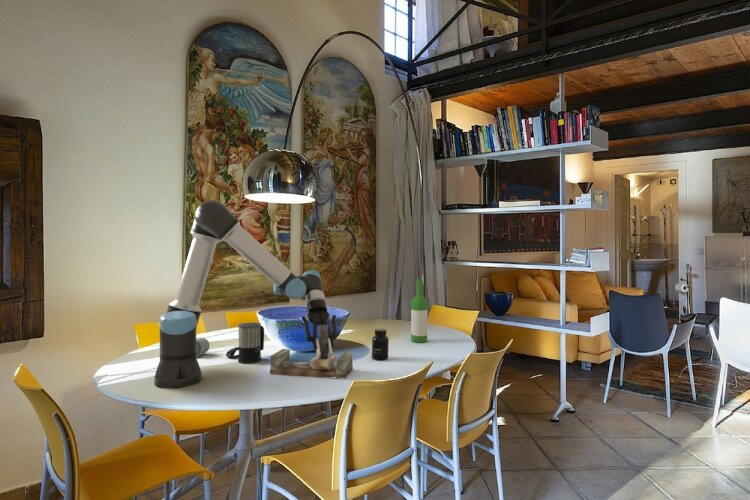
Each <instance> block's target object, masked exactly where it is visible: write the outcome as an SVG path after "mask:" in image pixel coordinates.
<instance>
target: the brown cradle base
mask: <svg viewBox="0 0 750 500" xmlns="http://www.w3.org/2000/svg"><path fill="white" fill-rule="evenodd" d="M335 362H336V363H334V364H332V365H331V370H323V369H312V366H310V362H304V361H303V362H301V361H291V349H289V348H288V349H287V348H282V349H280V350H278V351H277V352H275V353H273V354H271V355H270V369H269V374H270V375H279V374H281V376H294V375H298V376H297V377H308V376H319V377H318V378H323V377H336V378H335V379H338V378H344V379H346V377H347V376H348V375H349V374H350V373H351V372H352V371H353V370H354V367H353V352H343V353H342V354H341V355H340V356H339V357H338V358H336V361H335ZM282 374H283V375H282Z"/></svg>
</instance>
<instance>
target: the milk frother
mask: <svg viewBox="0 0 750 500" xmlns="http://www.w3.org/2000/svg"><path fill="white" fill-rule="evenodd" d="M237 326H238V346H236V347H234V348H231V349H229V350H227V352H226V353H225V357H226V358H229V359H237V358H238V360H237V361H238V363H240V364H254V363H255V364H256V363H259V362H261V361H262V355H261V353H262V352H261V351H264V348H265V347H264V346H265V345H264V344H265V328H264V326H263V325H262V323H260V322H243V323H239V324H237ZM237 351H238V354H236V352H237ZM235 354H236V355H235Z"/></svg>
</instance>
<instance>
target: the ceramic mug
mask: <svg viewBox="0 0 750 500" xmlns="http://www.w3.org/2000/svg"><path fill="white" fill-rule="evenodd" d="M209 349H210V342H209V340H208V339H207V338H205V337H196V357H197V358H198V357H200V356H203V355H204V354H206V353H207V352H208V351H209Z"/></svg>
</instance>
